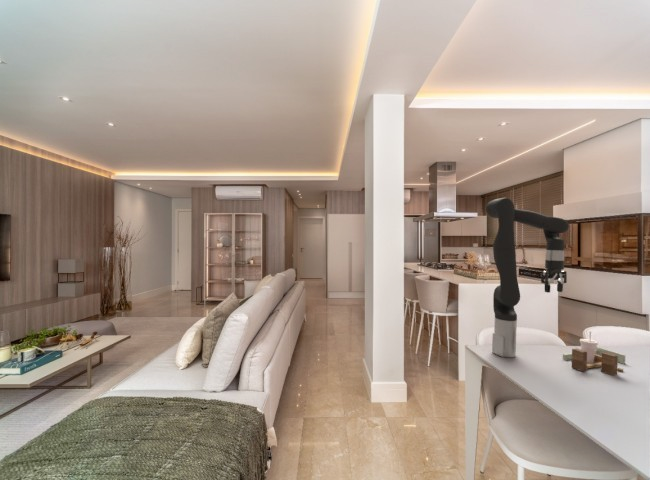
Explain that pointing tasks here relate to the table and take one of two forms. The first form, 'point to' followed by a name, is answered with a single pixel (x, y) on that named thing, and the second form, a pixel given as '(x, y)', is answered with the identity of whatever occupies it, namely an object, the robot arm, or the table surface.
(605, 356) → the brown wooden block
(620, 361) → the frame
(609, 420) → the table surface
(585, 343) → the smoothie
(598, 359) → the wooden mallet
